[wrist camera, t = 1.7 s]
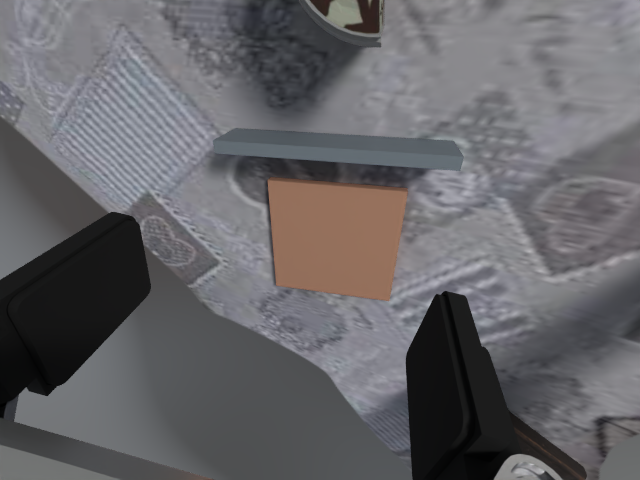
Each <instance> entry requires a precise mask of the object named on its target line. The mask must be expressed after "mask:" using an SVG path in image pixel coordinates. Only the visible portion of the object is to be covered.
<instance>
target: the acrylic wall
mask: <svg viewBox="0 0 640 480" xmlns="http://www.w3.org/2000/svg"><path fill="white" fill-rule="evenodd" d="M213 145H214V150H215V153H216V154H230V155H244V156H258V157H273V158H287V159H301V160H315V161H329V162H343V163H357V164H371V165H385V166H399V167H413V168H427V169H441V170H455V171H460V169H461V166H462V162H463V158H464V156H463V155H462V153H461V151H460V150H459V148H458V147H457V145H456V144H455V142H454V141H448V140H431V139H413V138H396V137H378V136H361V135H343V134H326V133H308V132H291V131H273V130H256V129H238V128H235V129H233V130H231V131H229V132H228V133H226V134H224V135H222V136H220V137H218V138H216V139H215V140H213Z"/></svg>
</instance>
